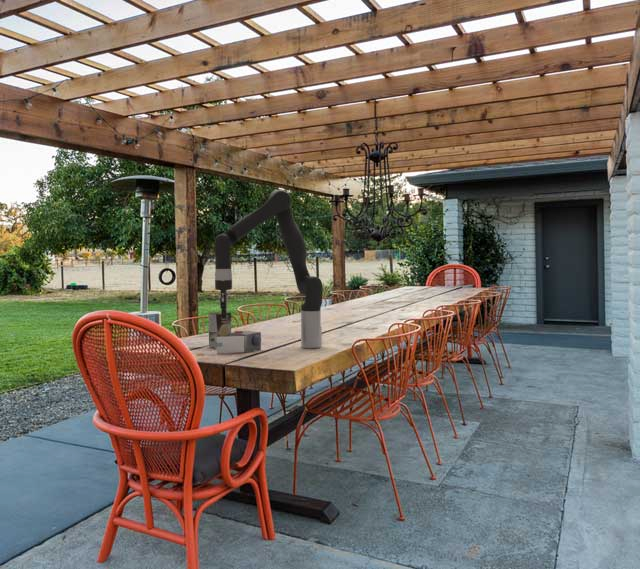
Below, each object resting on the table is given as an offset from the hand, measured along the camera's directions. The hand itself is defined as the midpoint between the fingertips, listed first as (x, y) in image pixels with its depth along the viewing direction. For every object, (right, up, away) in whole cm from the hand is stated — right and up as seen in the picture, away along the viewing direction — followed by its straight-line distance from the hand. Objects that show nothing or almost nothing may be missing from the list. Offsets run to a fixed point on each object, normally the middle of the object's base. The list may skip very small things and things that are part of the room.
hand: (224, 317), depth 250 cm
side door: (+4, -15, -2) cm, 16 cm away
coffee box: (-5, -15, +17) cm, 23 cm away
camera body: (+9, -15, +6) cm, 19 cm away
